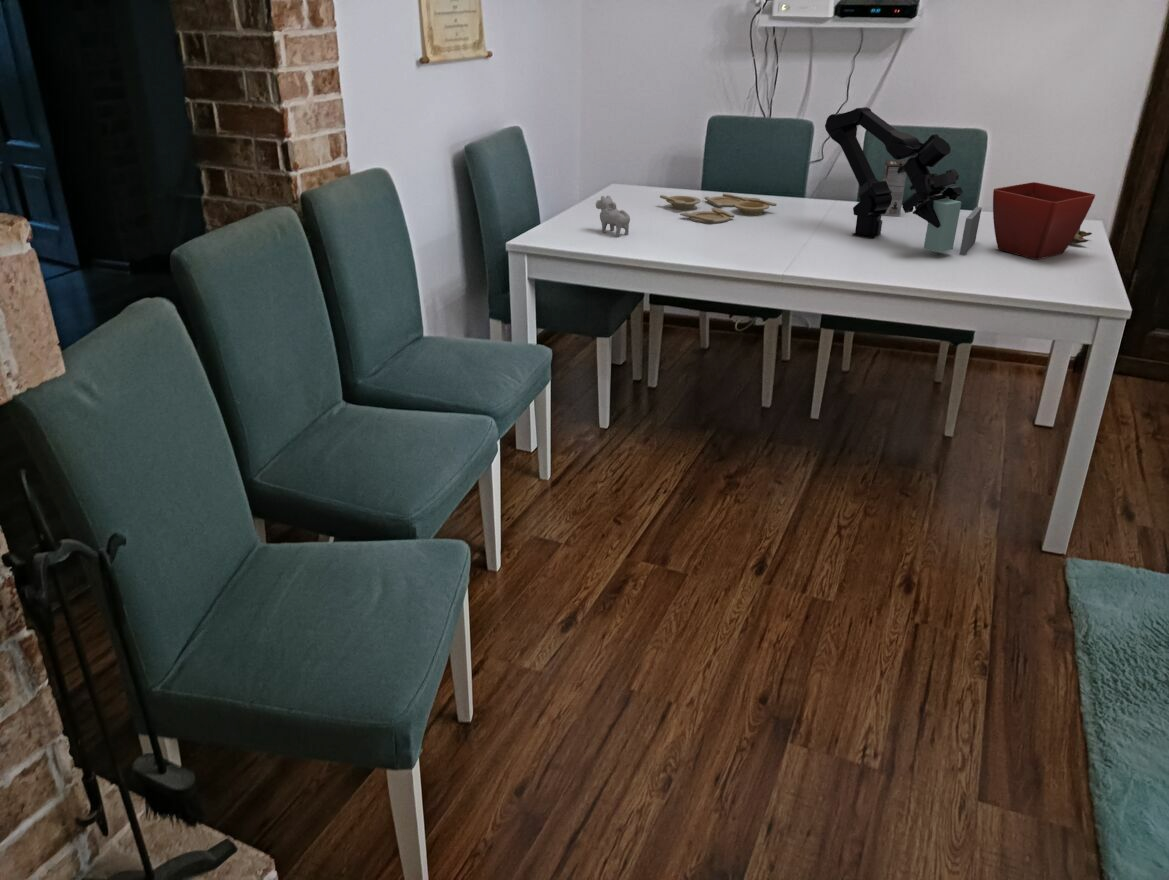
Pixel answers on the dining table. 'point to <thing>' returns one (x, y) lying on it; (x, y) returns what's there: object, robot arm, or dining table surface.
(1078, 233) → the ceramic sculpture
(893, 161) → the coffee box
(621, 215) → the dog figurine
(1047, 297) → the dining table surface
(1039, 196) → the plant pot
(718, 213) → the tableware set
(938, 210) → the cabinet box
